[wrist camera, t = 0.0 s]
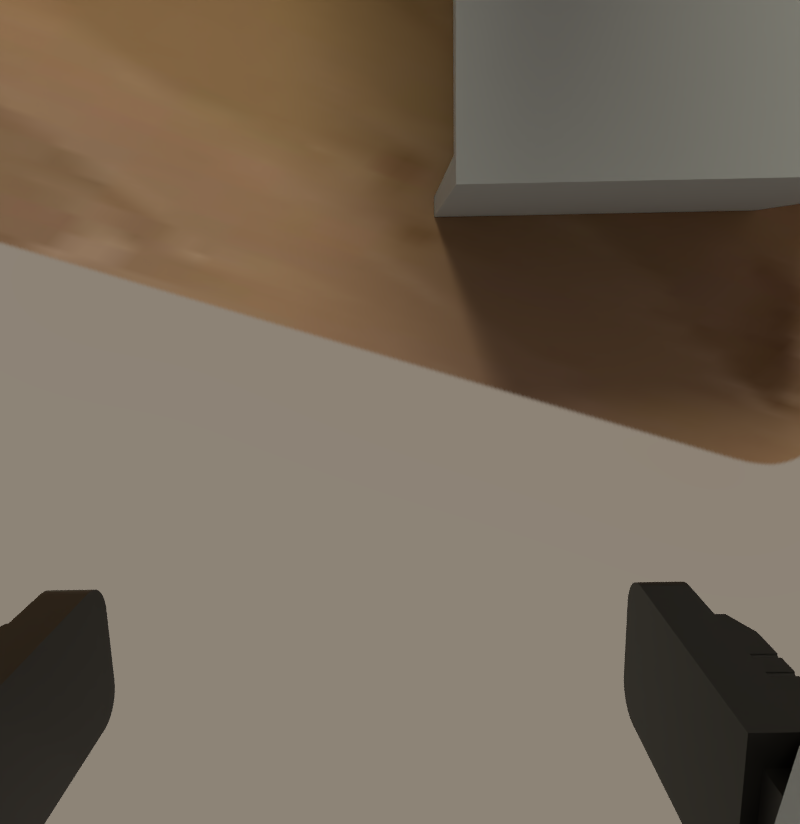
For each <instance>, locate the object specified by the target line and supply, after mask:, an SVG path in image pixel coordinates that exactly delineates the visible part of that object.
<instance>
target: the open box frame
mask: <svg viewBox="0 0 800 824" xmlns="http://www.w3.org/2000/svg"><path fill="white" fill-rule="evenodd" d="M453 75H454V156H453V158H452V160H451V162H450V165H449V167H448V169H447V171H446V173H445V175H444V177H443V179H442V182H441V184H440V186H439V188H438V190H437V192H436V194H435V196H434V217H458V216H507V215H555V214H604V213H653V212H701V211H750V210H761V209H768V208H774V207H781V206H788V205H794V204H800V0H453Z"/></svg>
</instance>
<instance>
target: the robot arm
mask: <svg viewBox="0 0 800 824" xmlns="http://www.w3.org/2000/svg"><path fill="white" fill-rule="evenodd" d="M626 629H627V630H626V647H625V648H626V649H625V667H624V668H625V669H624V688H625V689H624V690H625V697H626V704H627V708H628V712H629V716H630V719H631V721H632V723H633V726H634V728H635V730H636V732H637V733H638V735H639V738H640V739H641V742H642V744H643V746H644V748H645V750H646V752H647V754H648V756H649V758H650V760H651V761H652V764H653V766H654V768H655V770H656V772H657V774H658V776H659V778H660V780H661V782H662V784H663V786H664V788H665V790H666V792H667V794H668V796H669V798H670V800H671V802H672V804H673V806H674V808H675V810H676V812H677V814H678V816H679V818H680V820H681V822H682V824H800V677H799V676H795V672H794V670H793V669H791V667H789V665H788V664H787V663H786V662H785V661H784V660H783V659H782V658H778V656H777V653H776V652H775V651H774V650H773V649H772V647H771V646H770V645H769V644H768V643H767V642H766V641H765V640H764V639H763V638H762V637H761V636H760V635H759V634H758V633H757V632H756V631H754V630H752V629H751V628H749V627H747V626H745V625H743V624H742V623H740V622H738V621H736V620H735V619H733V618H731V617H729V616H728V615H726V614H714V613H713V612H712V611H711V610H710V609H709V608H708V606H707V605H706V604H705V603H704V602H703V601H702V600H701V599H700V597H699V596H698V595H697V594H696V593H695V592H694V591H693V590H692V588H691V587H690V586H689V585H688V584H687V583H685V582H643V583H642V582H640V583H639V582H638V583H633V584H632V585H631V587H630V591H629V595H628V608H627V628H626ZM114 693H115V684H114V674H113V665H112V657H111V648H110V638H109V630H108V621H107V612H106V605H105V601H104V598H103V596H102V594H101V593H100V592H99V591H98V590H60V591H59V590H53V591H45V592H43V593H42V594H40V595H39V596H38V597H37V598H36V599H35V600H34V601H33V602H32V603H30V604H29V605H28V606H27V607H26V608H25V609H24V610H23V611H22V612H21V613H20V614H19V615H17V616H16V617H15V618H14V619H13V620H12V621H11V622H10V623H9V624H5V625H3V626H1V627H0V824H44V823H45V822H46V820H47V819H48V817H49V816H50V814H51V813H52V811H53V809H54V808H55V806H56V805H57V803H58V802H59V800H60V798H61V797H62V795H63V794H64V792H65V791H66V789H67V788H68V786H69V784H70V782H71V781H72V780H73V778H74V777H75V775H76V773H77V772H78V770H79V769H80V767H81V766H82V764H83V763H84V761H85V759H86V758H87V756H88V755H89V753H90V751H91V750H92V748H93V747H94V745H95V744H96V742H97V741H98V739H99V737H100V736H101V734H102V733H103V731H104V730H105V728H106V726H107V724H108V722H109V719H110V716H111V712H112V708H113V703H114Z"/></svg>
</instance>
